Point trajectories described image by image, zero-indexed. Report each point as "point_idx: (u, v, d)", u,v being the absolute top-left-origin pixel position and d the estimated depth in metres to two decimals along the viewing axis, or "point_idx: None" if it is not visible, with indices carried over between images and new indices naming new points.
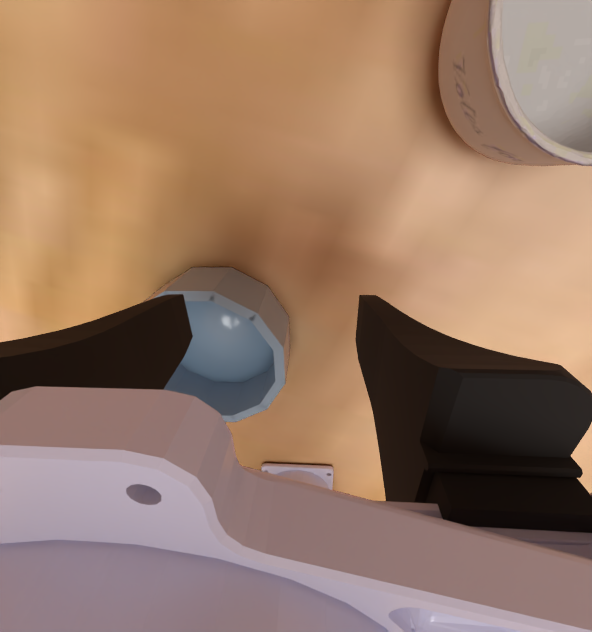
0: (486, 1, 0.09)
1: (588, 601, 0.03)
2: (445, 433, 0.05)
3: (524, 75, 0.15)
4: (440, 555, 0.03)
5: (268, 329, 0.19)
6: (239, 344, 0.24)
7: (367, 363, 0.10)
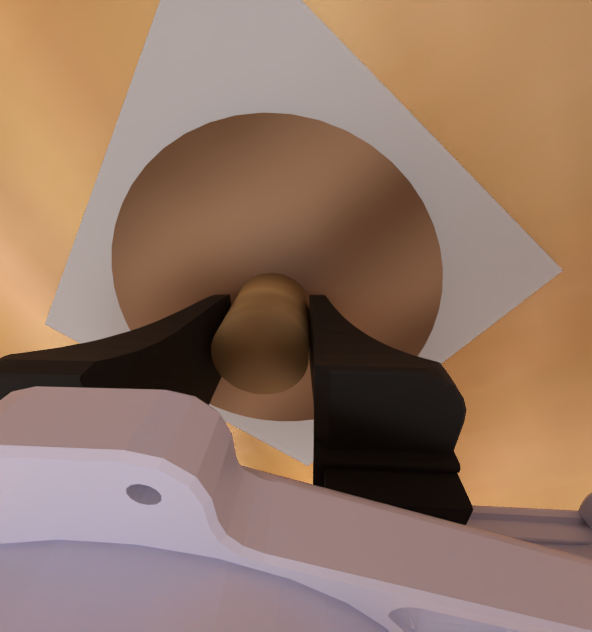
0: None
1: (588, 601, 0.03)
2: (330, 429, 0.05)
3: None
4: (440, 555, 0.03)
5: None
6: None
7: (311, 362, 0.10)
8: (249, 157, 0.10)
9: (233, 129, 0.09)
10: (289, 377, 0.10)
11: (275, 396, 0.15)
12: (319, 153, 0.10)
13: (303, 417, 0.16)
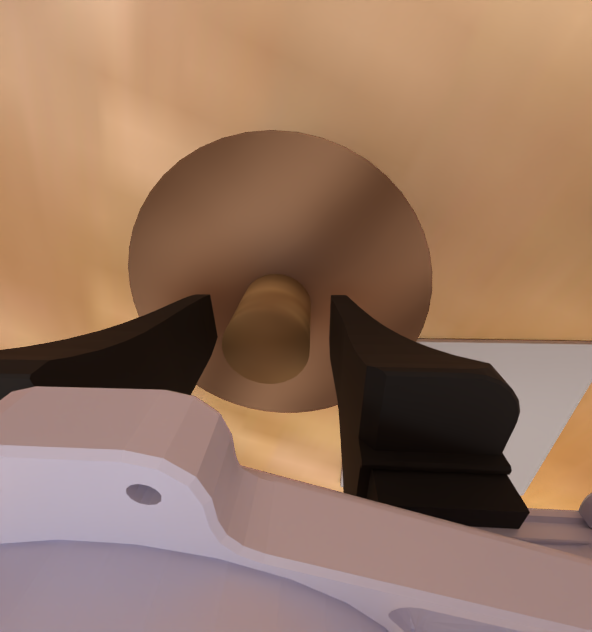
0: None
1: (588, 601, 0.03)
2: (379, 431, 0.05)
3: None
4: (440, 555, 0.03)
5: None
6: None
7: (335, 362, 0.10)
8: (239, 173, 0.11)
9: (222, 150, 0.11)
10: (294, 365, 0.11)
11: (289, 389, 0.16)
12: (300, 161, 0.11)
13: (317, 406, 0.16)
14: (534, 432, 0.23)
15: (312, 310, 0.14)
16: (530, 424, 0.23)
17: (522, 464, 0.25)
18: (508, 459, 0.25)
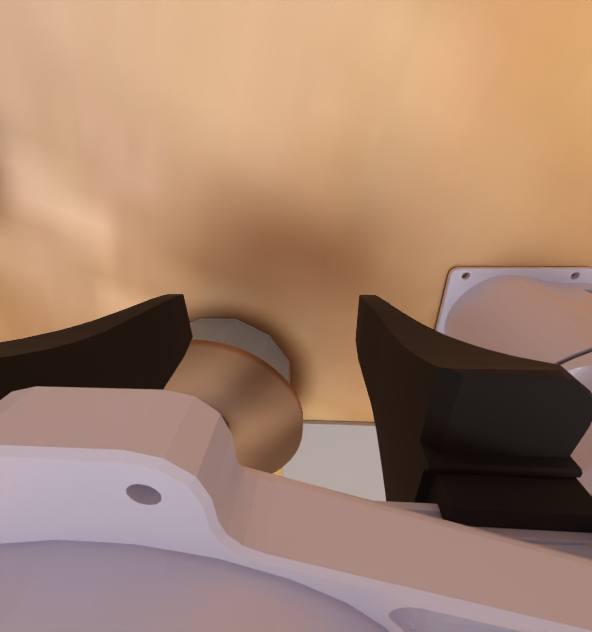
0: None
1: (589, 601, 0.03)
2: (445, 433, 0.05)
3: None
4: (440, 555, 0.03)
5: None
6: None
7: (367, 363, 0.10)
8: None
9: None
10: None
11: None
12: (210, 359, 0.18)
13: None
14: None
15: (230, 428, 0.21)
16: None
17: None
18: None
